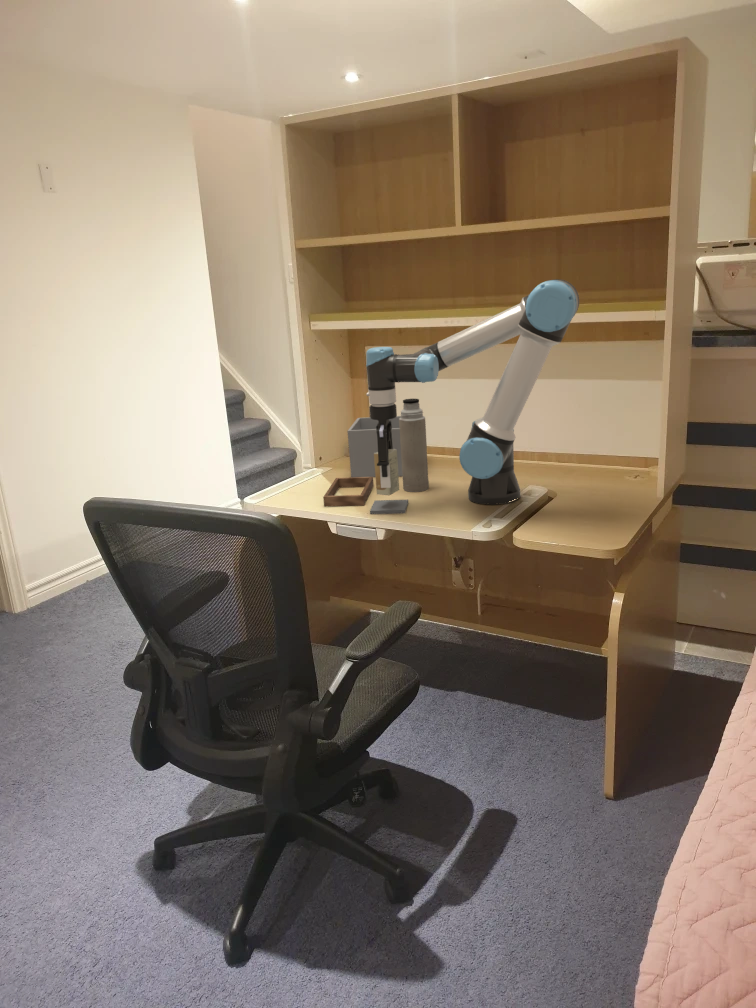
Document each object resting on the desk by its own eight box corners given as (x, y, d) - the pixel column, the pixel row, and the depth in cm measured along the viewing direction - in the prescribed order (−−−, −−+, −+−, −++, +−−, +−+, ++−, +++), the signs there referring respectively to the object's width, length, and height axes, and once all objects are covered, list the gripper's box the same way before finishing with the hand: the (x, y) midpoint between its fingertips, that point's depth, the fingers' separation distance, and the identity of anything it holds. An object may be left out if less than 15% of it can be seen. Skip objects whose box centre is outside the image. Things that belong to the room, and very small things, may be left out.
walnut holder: (373, 485, 248) (372, 476, 247) (364, 505, 228) (363, 495, 228) (336, 486, 250) (336, 477, 249) (324, 506, 230) (323, 496, 229)
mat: (408, 502, 228) (408, 499, 228) (405, 513, 219) (405, 509, 218) (374, 503, 229) (374, 500, 229) (370, 514, 220) (369, 510, 220)
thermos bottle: (415, 483, 247) (410, 396, 239) (434, 487, 242) (429, 398, 234) (398, 489, 242) (392, 400, 234) (416, 493, 237) (411, 402, 228)
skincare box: (387, 489, 226) (384, 448, 223) (400, 490, 224) (397, 448, 221) (375, 494, 221) (372, 452, 218) (388, 496, 219) (386, 453, 215)
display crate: (421, 459, 277) (419, 415, 272) (416, 475, 256) (414, 428, 252) (361, 461, 280) (357, 417, 276) (351, 477, 260) (347, 430, 255)
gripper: (374, 398, 225) (379, 474, 232) (364, 411, 206) (369, 494, 213) (399, 397, 224) (404, 473, 231) (392, 410, 205) (396, 493, 212)
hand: (387, 483), depth 222 cm, fingers closed on skincare box, 7 cm apart
